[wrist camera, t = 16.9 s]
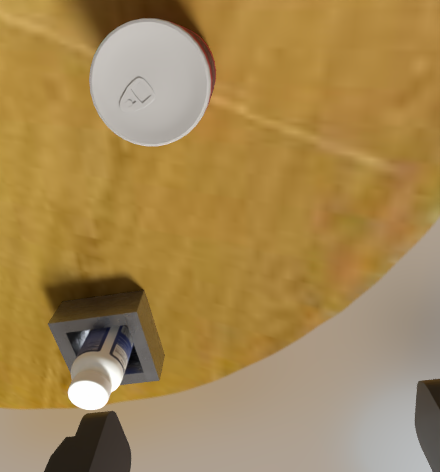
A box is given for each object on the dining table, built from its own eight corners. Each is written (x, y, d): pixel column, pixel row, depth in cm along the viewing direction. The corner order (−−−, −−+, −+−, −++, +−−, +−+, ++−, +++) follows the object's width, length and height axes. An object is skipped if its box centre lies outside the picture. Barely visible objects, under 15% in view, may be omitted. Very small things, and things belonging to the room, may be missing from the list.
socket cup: (90, 362, 51) (78, 389, 47) (63, 299, 46) (47, 323, 42) (165, 353, 50) (159, 380, 46) (145, 288, 45) (136, 311, 41)
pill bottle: (87, 343, 48) (55, 407, 39) (96, 308, 46) (65, 368, 37) (130, 354, 48) (108, 421, 39) (141, 321, 46) (120, 383, 37)
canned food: (112, 85, 35) (66, 101, 25) (160, 3, 32) (129, -15, 22) (182, 137, 37) (165, 170, 27) (233, 63, 34) (235, 71, 24)
